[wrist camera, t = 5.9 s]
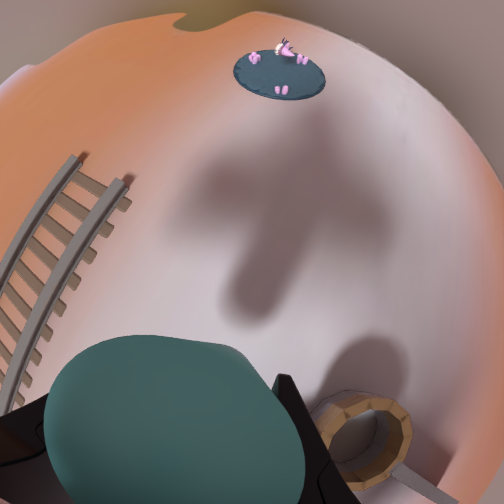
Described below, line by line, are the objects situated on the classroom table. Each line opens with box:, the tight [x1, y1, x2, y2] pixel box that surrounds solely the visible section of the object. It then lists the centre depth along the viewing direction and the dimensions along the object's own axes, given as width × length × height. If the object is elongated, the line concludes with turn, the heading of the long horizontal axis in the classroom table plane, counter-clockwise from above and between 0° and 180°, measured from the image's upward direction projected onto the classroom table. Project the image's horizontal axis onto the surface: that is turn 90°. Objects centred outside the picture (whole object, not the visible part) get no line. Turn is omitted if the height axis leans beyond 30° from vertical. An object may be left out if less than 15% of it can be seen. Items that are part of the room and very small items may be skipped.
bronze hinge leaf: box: [315, 394, 413, 491], centre depth 16 cm, size 17×12×4 cm
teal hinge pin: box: [44, 335, 305, 504], centre depth 9 cm, size 4×4×12 cm
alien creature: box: [233, 37, 326, 100], centre depth 28 cm, size 12×12×7 cm
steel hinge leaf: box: [310, 390, 459, 504], centre depth 16 cm, size 7×19×4 cm, turn 46°
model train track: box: [0, 155, 132, 416], centre depth 20 cm, size 11×31×2 cm, turn 151°
